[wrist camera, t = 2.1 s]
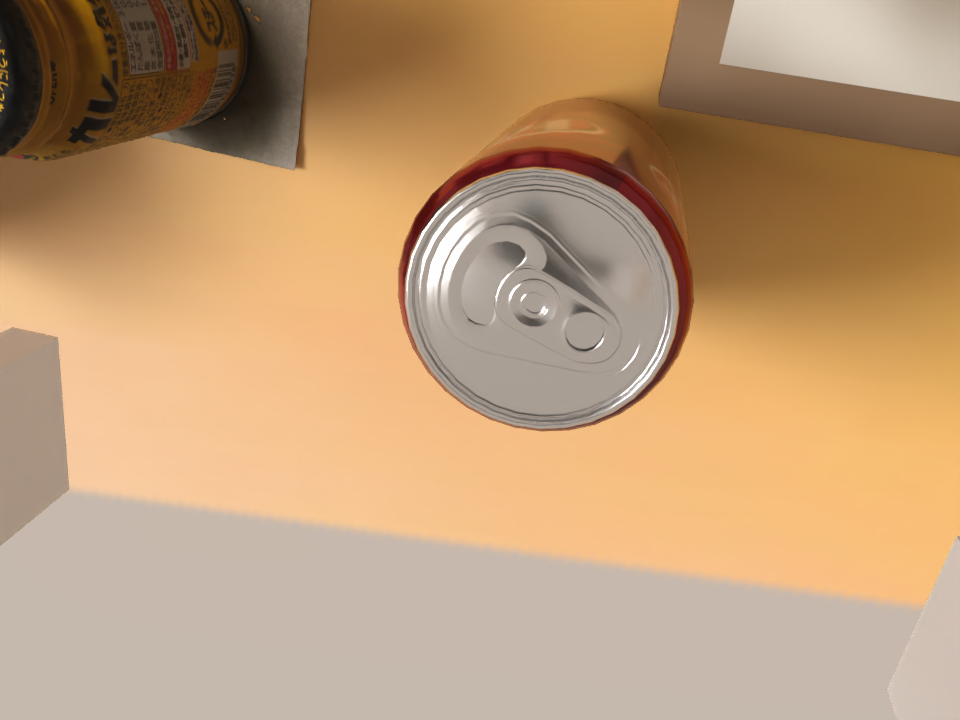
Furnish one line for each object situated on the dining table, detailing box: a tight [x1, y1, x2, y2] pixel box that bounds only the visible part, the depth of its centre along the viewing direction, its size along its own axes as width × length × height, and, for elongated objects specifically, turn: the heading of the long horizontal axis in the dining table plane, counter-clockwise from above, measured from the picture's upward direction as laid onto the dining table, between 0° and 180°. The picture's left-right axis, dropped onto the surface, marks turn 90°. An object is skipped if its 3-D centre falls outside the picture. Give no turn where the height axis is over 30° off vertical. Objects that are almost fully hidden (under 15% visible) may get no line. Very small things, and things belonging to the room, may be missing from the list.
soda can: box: [398, 98, 694, 431], centre depth 25 cm, size 7×7×12 cm
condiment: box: [0, 0, 311, 170], centre depth 26 cm, size 7×8×12 cm
